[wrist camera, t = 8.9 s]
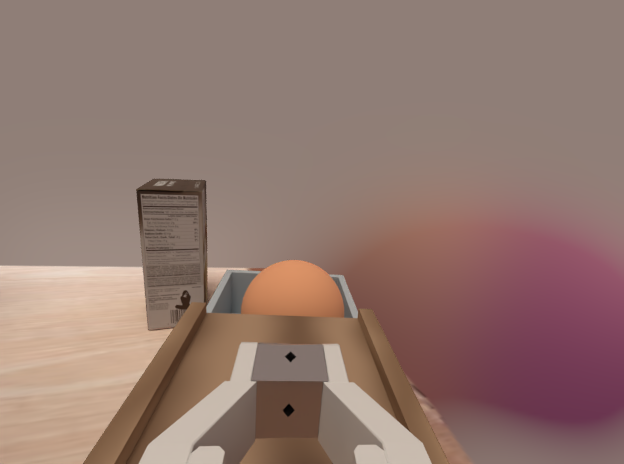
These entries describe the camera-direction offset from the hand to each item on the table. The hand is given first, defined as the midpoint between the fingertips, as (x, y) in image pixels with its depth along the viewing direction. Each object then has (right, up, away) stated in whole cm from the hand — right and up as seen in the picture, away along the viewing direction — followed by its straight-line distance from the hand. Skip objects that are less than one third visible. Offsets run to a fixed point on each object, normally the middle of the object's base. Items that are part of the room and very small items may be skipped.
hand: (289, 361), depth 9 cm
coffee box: (-16, -6, +29) cm, 33 cm away
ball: (-1, -4, +20) cm, 20 cm away
